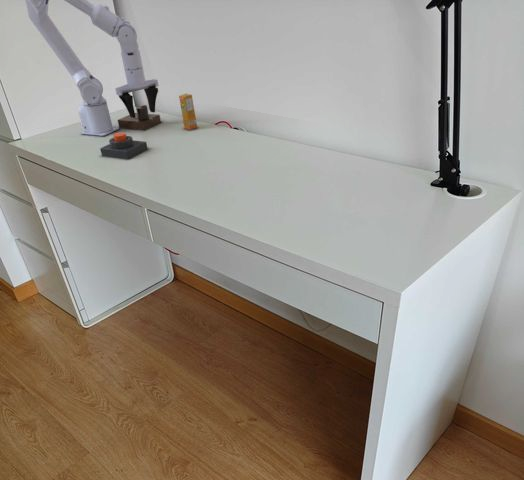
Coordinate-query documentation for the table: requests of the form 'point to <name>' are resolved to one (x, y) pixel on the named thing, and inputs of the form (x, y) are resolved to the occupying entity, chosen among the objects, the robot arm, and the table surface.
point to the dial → (142, 112)
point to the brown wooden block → (139, 122)
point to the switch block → (123, 148)
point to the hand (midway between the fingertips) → (142, 114)
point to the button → (120, 137)
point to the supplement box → (188, 111)
